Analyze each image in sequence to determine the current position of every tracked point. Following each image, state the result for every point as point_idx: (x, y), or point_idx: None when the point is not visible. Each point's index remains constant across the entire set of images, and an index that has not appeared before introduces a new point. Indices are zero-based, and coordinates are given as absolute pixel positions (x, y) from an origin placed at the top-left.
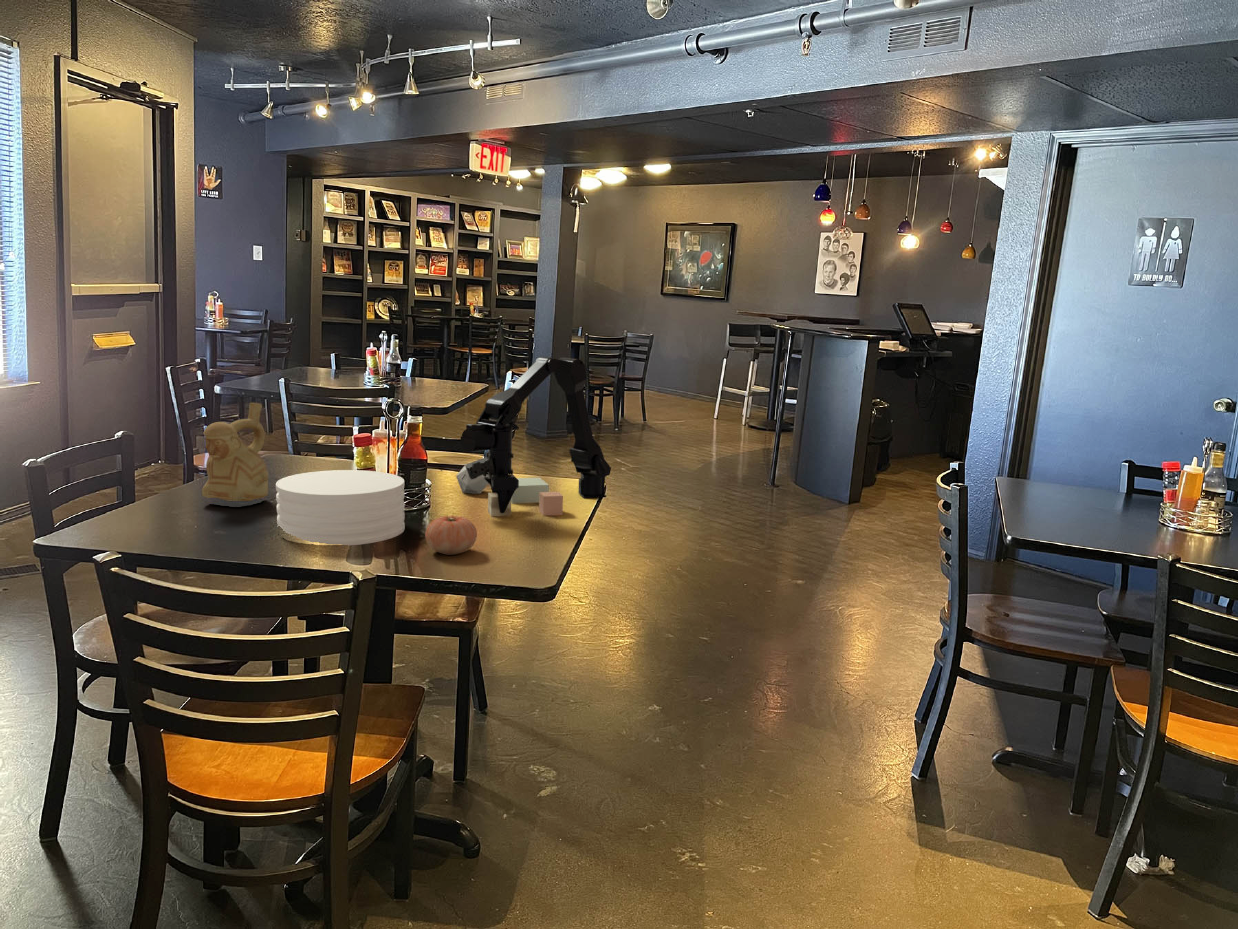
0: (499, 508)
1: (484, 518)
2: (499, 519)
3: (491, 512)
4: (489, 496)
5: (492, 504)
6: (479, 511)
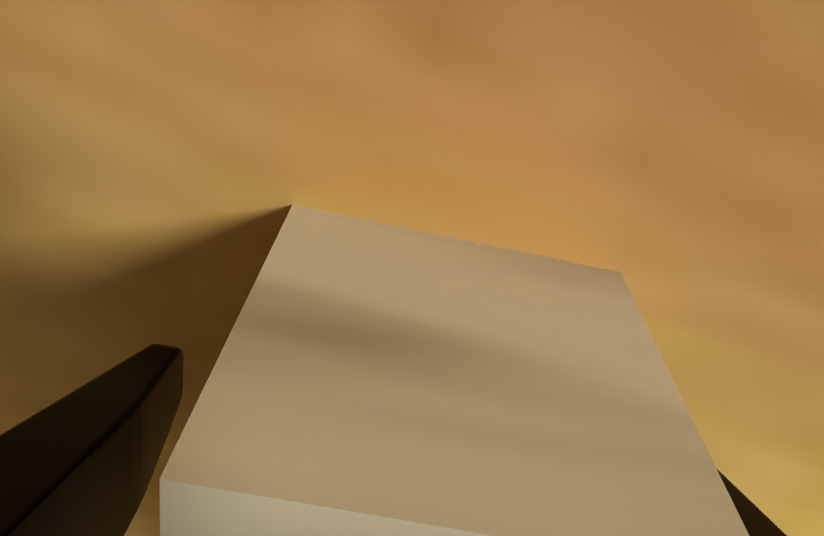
0: (90, 381)
1: (164, 37)
2: (61, 246)
3: (277, 241)
4: (534, 492)
5: (231, 352)
6: (724, 153)
